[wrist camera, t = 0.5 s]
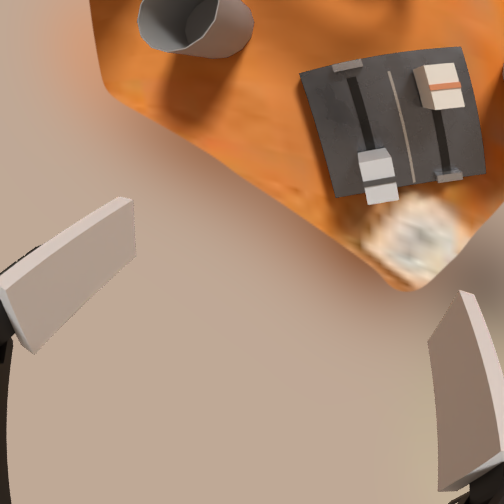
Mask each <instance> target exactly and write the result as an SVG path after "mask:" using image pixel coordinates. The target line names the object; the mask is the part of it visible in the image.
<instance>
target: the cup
mask: <svg viewBox="0 0 504 504" xmlns="http://www.w3.org/2000/svg"><path fill="white" fill-rule="evenodd" d="M137 23H138V27H139V31H140V35H141V37H142V38H143V39H144V40H145V41H146V43H147V44H148V45H149V46H150V47H151V48H154V49H157V50H161V51H164V52H168V53H177V54H184V55H191V56H198V57H204V58H210V59H217V58H226V57H229V56H231V55H233V54H235V53H236V52H238V51H240V50H242V49H243V47H244V46H245V45H246V43H247V42H248V41H249V39H250V38H251V36H252V32H253V27H254V20H253V17H252V13H251V10H250V9H249V8H248V7H247V6H246V5H245V4H244V3H243V2H242V1H241V0H143V1H142V3H141V4H140V9H139V14H138V19H137Z"/></svg>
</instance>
